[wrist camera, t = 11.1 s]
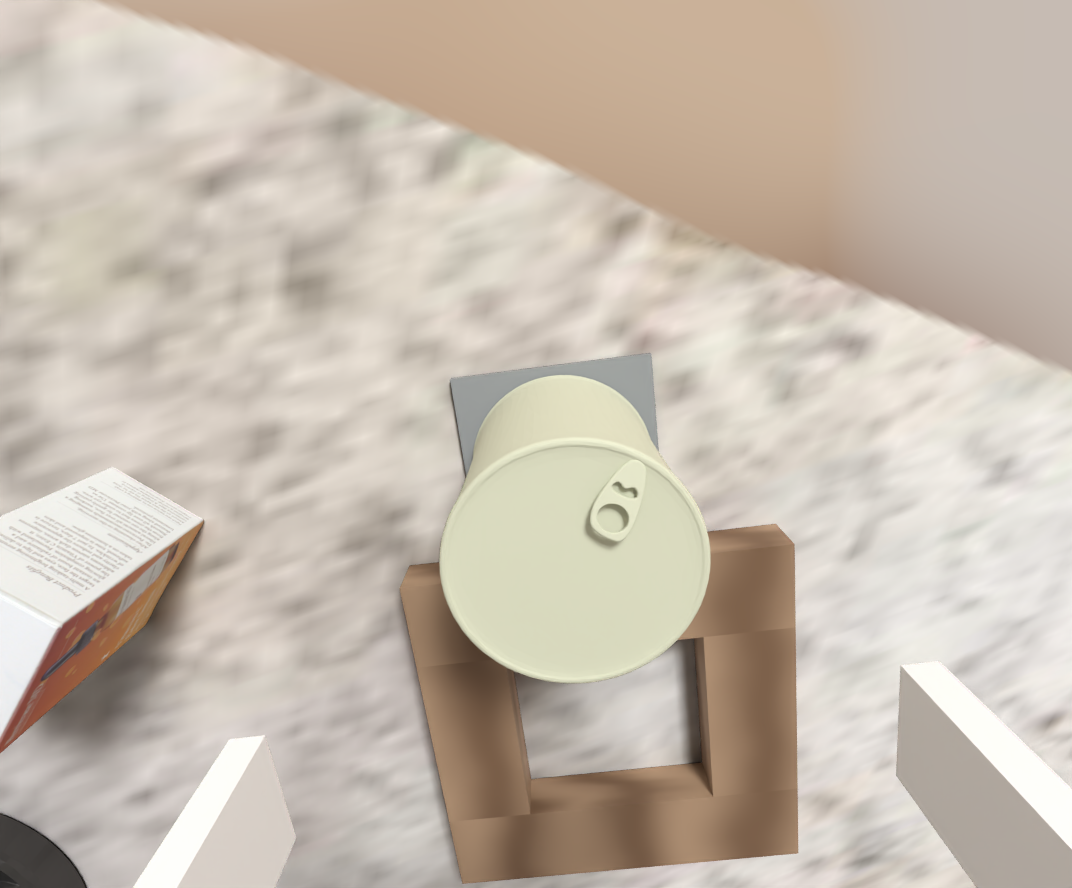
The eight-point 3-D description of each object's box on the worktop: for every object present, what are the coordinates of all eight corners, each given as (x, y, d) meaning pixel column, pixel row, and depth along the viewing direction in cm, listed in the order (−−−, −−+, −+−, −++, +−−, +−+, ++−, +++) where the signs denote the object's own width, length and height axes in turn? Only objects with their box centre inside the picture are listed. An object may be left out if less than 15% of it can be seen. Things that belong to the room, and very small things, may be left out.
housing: (467, 845, 39) (462, 883, 37) (409, 565, 34) (399, 588, 31) (782, 816, 38) (798, 853, 36) (775, 524, 33) (794, 544, 30)
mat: (481, 557, 33) (480, 560, 33) (451, 378, 31) (450, 379, 30) (664, 536, 33) (665, 539, 33) (649, 352, 30) (651, 353, 30)
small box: (147, 624, 35) (-14, 771, 25) (55, 574, 34) (-152, 704, 24) (209, 517, 33) (62, 628, 23) (113, 461, 32) (-84, 551, 22)
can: (685, 425, 31) (772, 520, 19) (597, 571, 33) (628, 733, 22) (523, 341, 30) (512, 388, 18) (444, 498, 32) (389, 629, 20)
